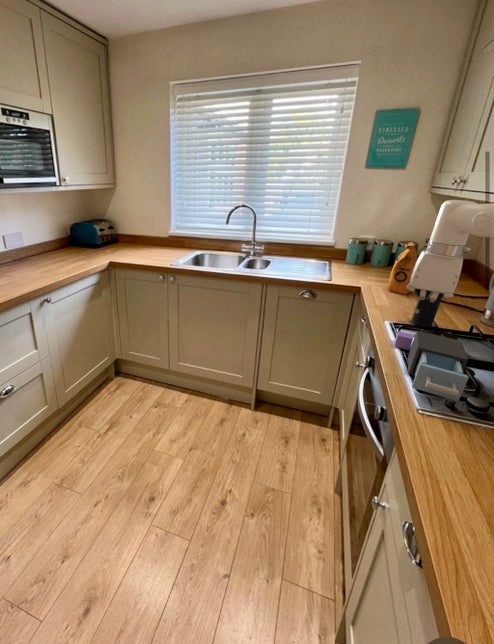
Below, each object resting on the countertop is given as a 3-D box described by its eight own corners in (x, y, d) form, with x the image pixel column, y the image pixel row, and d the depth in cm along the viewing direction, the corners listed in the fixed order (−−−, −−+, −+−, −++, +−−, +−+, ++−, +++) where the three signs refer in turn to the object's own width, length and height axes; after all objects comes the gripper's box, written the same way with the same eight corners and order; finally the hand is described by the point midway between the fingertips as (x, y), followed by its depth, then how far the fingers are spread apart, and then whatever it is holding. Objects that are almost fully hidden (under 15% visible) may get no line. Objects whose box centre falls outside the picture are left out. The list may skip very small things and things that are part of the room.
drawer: (461, 413, 75) (472, 388, 73) (412, 398, 80) (421, 374, 77) (453, 380, 87) (462, 358, 85) (411, 368, 92) (419, 347, 89)
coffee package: (383, 290, 155) (396, 244, 147) (388, 284, 164) (401, 240, 155) (408, 295, 149) (423, 247, 141) (412, 289, 158) (426, 243, 150)
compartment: (456, 387, 86) (468, 359, 82) (408, 374, 91) (417, 347, 87) (451, 367, 95) (461, 341, 91) (407, 356, 100) (416, 330, 96)
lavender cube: (409, 350, 103) (412, 339, 101) (394, 346, 105) (397, 335, 103) (408, 345, 106) (412, 334, 105) (394, 341, 108) (398, 330, 107)
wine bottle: (434, 325, 121) (464, 244, 109) (427, 329, 118) (456, 246, 106) (415, 318, 126) (442, 240, 114) (407, 322, 122) (434, 242, 111)
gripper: (477, 251, 86) (452, 314, 94) (410, 242, 93) (391, 302, 100) (483, 257, 80) (455, 324, 88) (411, 247, 87) (391, 310, 95)
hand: (421, 312), depth 94 cm, fingers closed
